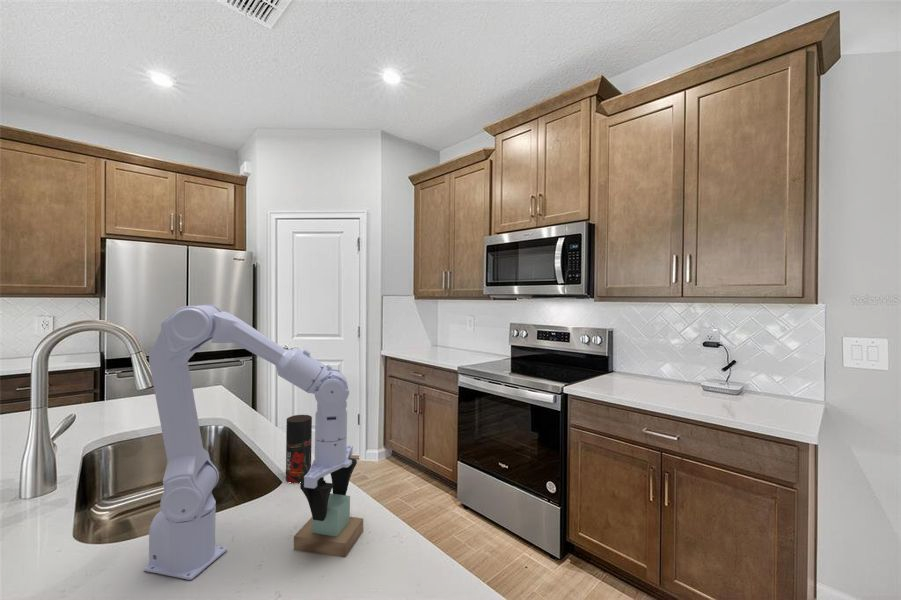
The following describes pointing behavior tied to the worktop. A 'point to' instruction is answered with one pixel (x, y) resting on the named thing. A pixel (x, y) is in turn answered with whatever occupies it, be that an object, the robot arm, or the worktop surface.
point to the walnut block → (329, 539)
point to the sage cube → (334, 516)
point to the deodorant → (298, 447)
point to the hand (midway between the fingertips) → (329, 508)
